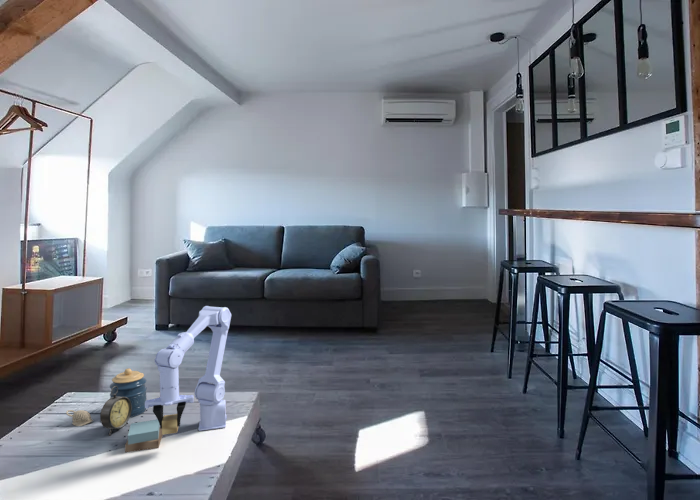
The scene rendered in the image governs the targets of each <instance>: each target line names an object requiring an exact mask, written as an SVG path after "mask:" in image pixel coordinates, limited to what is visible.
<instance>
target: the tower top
mask: <svg viewBox="0 0 700 500" xmlns="http://www.w3.org/2000/svg"><path fill="white" fill-rule="evenodd" d="M159 428H160V424H159V421H158V419H157V418H156V419H153V420H145V421H139V422H133V423H130V426H129V430H128V434H127V440H128V445H129V444H134V443H140V442H145V441H151V440H156V439H158V438H159Z"/></svg>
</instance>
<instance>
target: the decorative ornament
mask: <svg viewBox="0 0 700 500" xmlns="http://www.w3.org/2000/svg"><path fill="white" fill-rule="evenodd" d="M69 412H71V413H73V414H71V413H69ZM65 414H66V415H67V416H69V417H71V418H72V419H71V420H72V422H71V424H72V425H73V426H75V427H82V426H85V425H88V424H89V423H92V422H94V420H93V419H92V416H91V414H90V413H89V411H87V410H83V409H81V410H80V409H78V410H73V409H70V410H69V409H68V410H67V411H66V412H65Z"/></svg>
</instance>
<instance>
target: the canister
mask: <svg viewBox="0 0 700 500" xmlns="http://www.w3.org/2000/svg"><path fill="white" fill-rule="evenodd" d="M144 376H145V374H144V373H143V372H140V371H138V370H132V369H131V368H126V369H125V370H124V371H123V372H120V373H118V374H116V375H115V376H114V377H112V379H111V383H110V384H109V389H110V390H112V388H113V387H114V386H117V387H118V392H117V387H114V388H113V390H112V394H116V392H117V394H116V397H127V398H128V399H129V400H130V402H131V405H132V411H131V416H130V418H133V417H134V418H135V417H136V416H139V415H142V414H143V413H144V412H145V411H147V408H145V401H146V400H147V389H148V388H147V387H146V383H147V379H146V378H145V377H144ZM112 394H111V392H110V393H109V397H110V398H112V397H114V396H113V395H112ZM110 398H109V399H110Z"/></svg>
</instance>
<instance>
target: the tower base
mask: <svg viewBox="0 0 700 500" xmlns="http://www.w3.org/2000/svg"><path fill="white" fill-rule="evenodd" d="M163 436H164V435H162V429H161V428H159V438H158V439H156V440H151V441H145V442H140V443H134V444H129V445H128V439H127V440H126V443H125V444H124V451H125V452H124V453H130V452H131V453H134V452H138V451H147V450H155V449H159V447H160V445H161V442H162V439H163Z"/></svg>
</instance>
